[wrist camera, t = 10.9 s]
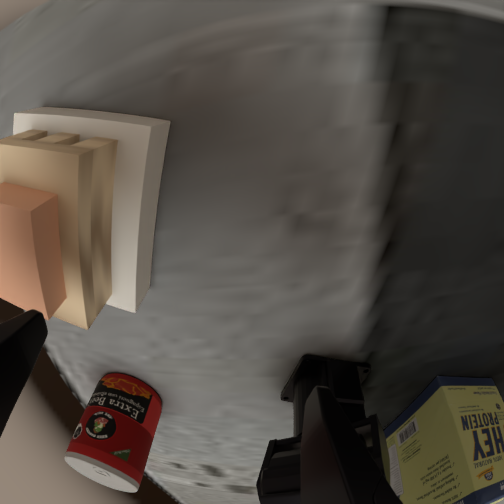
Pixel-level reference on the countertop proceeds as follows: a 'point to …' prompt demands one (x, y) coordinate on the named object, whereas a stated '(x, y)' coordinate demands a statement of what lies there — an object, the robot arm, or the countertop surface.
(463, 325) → the countertop surface
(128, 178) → the white flat block
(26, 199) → the block
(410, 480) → the protein box
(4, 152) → the pallet
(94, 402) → the canned food
